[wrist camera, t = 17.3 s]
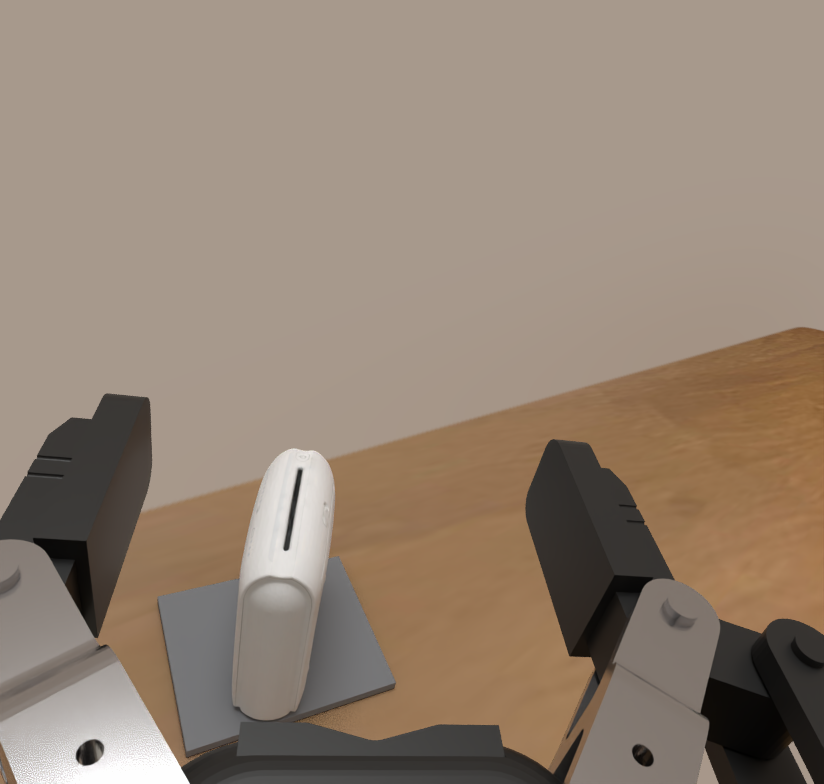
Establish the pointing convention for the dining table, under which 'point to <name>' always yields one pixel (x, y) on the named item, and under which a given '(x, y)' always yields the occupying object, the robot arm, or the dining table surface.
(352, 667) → the rubber mat
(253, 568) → the photo printer
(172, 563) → the dining table surface
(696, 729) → the robot arm
